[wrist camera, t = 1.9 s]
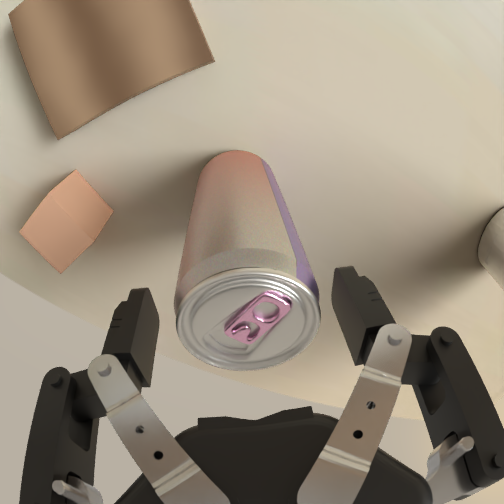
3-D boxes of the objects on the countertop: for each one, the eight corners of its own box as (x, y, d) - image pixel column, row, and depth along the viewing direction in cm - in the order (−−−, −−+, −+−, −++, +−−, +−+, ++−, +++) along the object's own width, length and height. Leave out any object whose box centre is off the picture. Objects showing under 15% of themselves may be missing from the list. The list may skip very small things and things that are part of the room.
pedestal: (161, -62, 12) (153, -77, 10) (215, 61, 19) (213, 60, 16) (28, 16, 14) (8, 14, 11) (75, 130, 20) (57, 139, 18)
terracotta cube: (76, 169, 22) (48, 193, 18) (114, 210, 24) (94, 241, 20) (46, 204, 23) (19, 232, 19) (81, 241, 26) (60, 273, 22)
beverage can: (289, 177, 24) (355, 312, 12) (243, 230, 26) (260, 386, 14) (228, 133, 22) (231, 235, 9) (184, 193, 24) (145, 341, 12)
